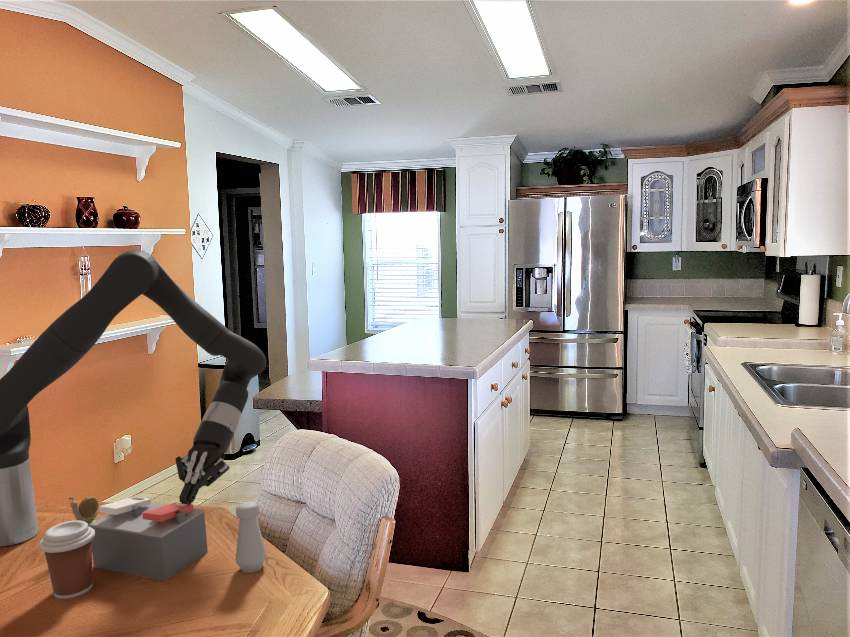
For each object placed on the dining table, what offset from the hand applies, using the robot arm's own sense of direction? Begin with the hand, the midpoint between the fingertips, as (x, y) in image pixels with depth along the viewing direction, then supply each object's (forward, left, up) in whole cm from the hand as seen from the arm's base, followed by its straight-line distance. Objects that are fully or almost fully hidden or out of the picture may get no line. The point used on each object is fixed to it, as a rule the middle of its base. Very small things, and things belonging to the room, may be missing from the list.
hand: (184, 503), depth 133 cm
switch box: (-6, -5, -11) cm, 13 cm away
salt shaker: (+16, -2, -11) cm, 20 cm away
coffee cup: (-11, -18, -11) cm, 24 cm away
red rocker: (0, -5, 0) cm, 5 cm away
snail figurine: (-24, -4, -11) cm, 26 cm away
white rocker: (-11, -5, 0) cm, 12 cm away
